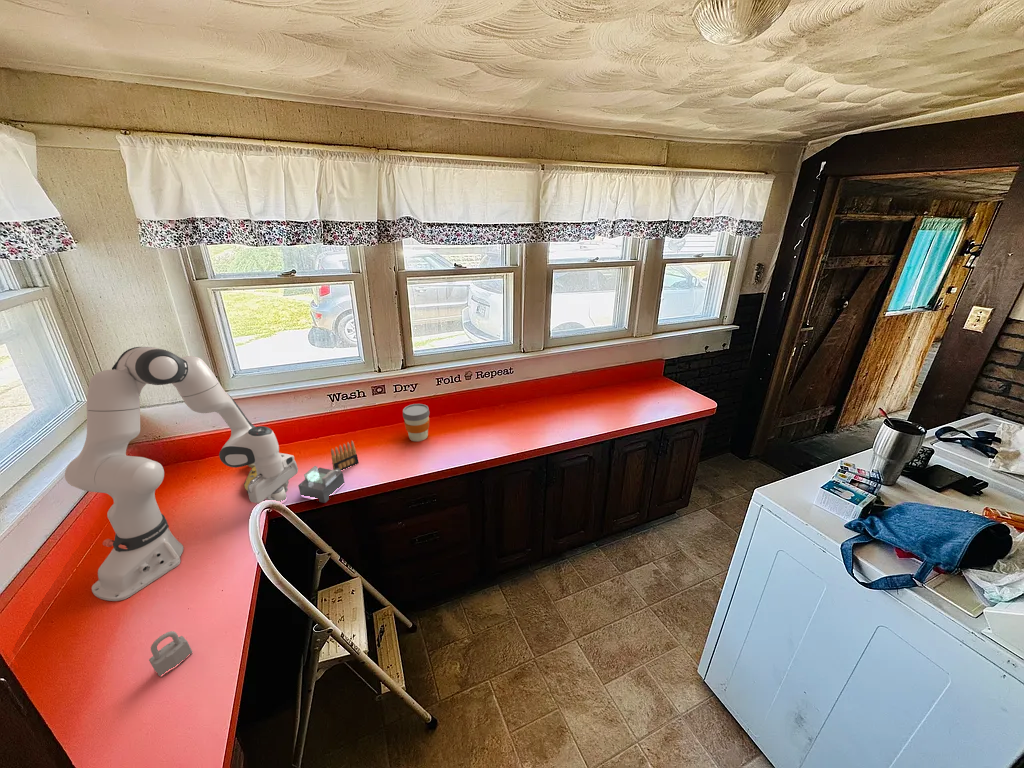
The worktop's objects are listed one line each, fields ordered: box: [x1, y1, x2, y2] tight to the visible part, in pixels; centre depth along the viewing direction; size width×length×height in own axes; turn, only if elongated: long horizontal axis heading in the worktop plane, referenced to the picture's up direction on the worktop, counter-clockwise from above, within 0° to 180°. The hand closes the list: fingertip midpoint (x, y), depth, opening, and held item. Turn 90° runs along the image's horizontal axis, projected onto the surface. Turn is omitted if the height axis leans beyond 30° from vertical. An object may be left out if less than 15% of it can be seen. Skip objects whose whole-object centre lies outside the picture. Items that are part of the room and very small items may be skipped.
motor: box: [298, 465, 346, 504], centre depth 165 cm, size 16×11×9 cm
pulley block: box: [243, 463, 258, 494], centre depth 170 cm, size 14×6×30 cm
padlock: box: [148, 630, 193, 677], centre depth 102 cm, size 7×4×10 cm, turn 149°
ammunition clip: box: [330, 440, 360, 471], centre depth 177 cm, size 11×2×12 cm, turn 137°
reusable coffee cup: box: [402, 403, 431, 442], centre depth 200 cm, size 13×13×15 cm
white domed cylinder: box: [271, 486, 287, 502], centre depth 158 cm, size 5×5×6 cm
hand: (278, 496), depth 158 cm, fingers closed on white domed cylinder, 5 cm apart
